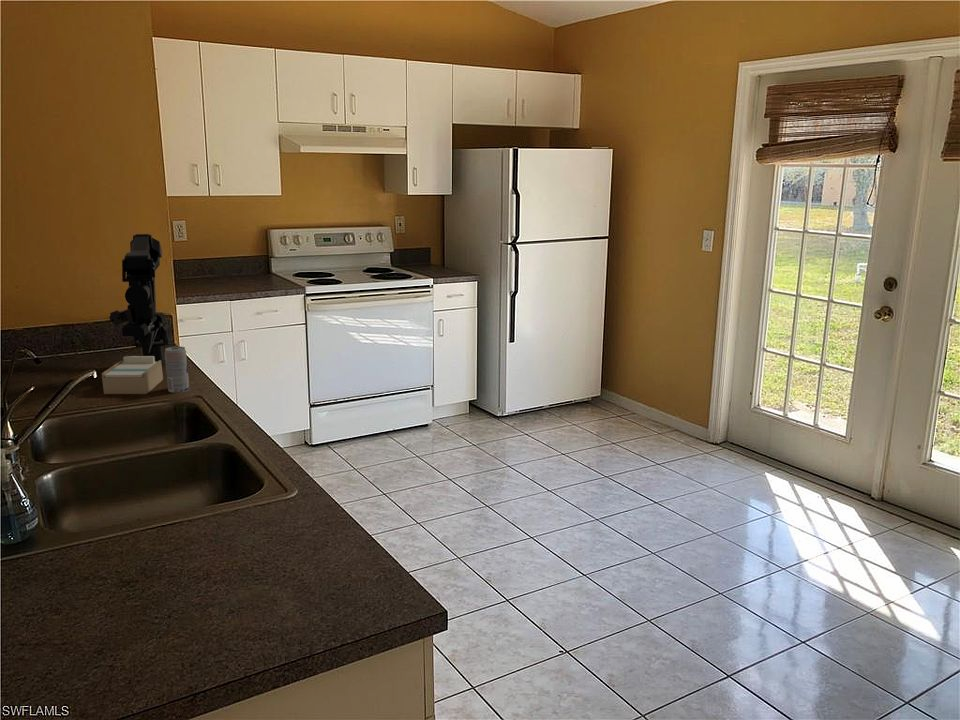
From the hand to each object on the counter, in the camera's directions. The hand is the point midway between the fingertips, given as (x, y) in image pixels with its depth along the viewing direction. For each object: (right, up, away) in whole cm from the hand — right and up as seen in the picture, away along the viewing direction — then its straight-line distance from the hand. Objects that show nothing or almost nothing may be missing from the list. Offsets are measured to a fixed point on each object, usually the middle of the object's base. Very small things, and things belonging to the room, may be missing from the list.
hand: (147, 353), depth 220 cm
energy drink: (+14, -11, -11) cm, 20 cm away
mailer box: (+1, -10, -9) cm, 13 cm away
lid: (+1, -5, -11) cm, 12 cm away
